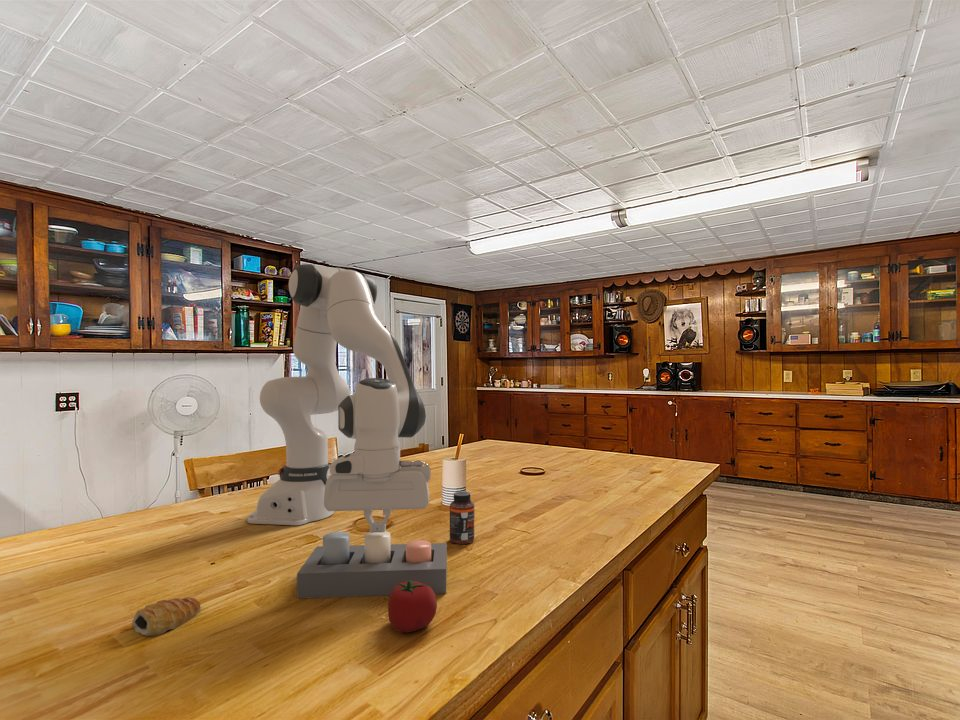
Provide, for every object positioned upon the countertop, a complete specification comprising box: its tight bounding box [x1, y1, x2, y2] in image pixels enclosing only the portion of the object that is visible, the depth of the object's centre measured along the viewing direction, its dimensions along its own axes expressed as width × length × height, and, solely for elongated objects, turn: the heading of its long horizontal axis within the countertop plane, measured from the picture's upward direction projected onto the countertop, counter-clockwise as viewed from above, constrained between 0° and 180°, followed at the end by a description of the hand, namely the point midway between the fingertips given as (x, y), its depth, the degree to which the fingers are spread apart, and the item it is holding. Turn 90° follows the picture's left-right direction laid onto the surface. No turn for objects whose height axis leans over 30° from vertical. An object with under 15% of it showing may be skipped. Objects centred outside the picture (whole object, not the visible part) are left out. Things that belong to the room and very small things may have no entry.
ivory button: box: [363, 530, 391, 564], centre depth 95 cm, size 5×5×6 cm
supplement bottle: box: [449, 491, 475, 545], centre depth 116 cm, size 6×6×11 cm
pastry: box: [131, 596, 202, 637], centre depth 81 cm, size 9×7×4 cm
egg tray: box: [296, 542, 448, 599], centre depth 95 cm, size 27×13×4 cm, turn 93°
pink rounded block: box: [405, 539, 431, 562], centre depth 96 cm, size 5×5×6 cm
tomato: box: [387, 581, 438, 634], centre depth 79 cm, size 8×8×7 cm
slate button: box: [322, 531, 350, 565], centre depth 95 cm, size 5×5×6 cm
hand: (377, 531), depth 95 cm, fingers closed
